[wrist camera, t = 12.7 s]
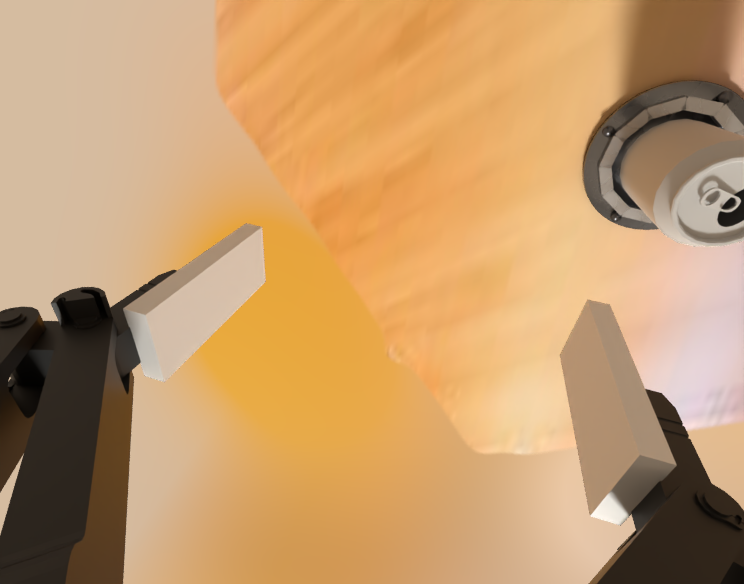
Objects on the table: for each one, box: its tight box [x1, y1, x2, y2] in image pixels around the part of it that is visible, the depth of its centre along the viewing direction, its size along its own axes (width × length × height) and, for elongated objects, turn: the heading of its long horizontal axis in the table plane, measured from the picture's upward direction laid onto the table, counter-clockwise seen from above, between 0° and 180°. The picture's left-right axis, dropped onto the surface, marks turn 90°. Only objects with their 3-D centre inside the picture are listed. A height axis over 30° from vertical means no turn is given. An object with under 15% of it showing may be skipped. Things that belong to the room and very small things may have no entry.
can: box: [620, 119, 744, 247], centre depth 30 cm, size 8×8×12 cm
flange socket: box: [583, 81, 744, 230], centre depth 35 cm, size 13×13×2 cm
